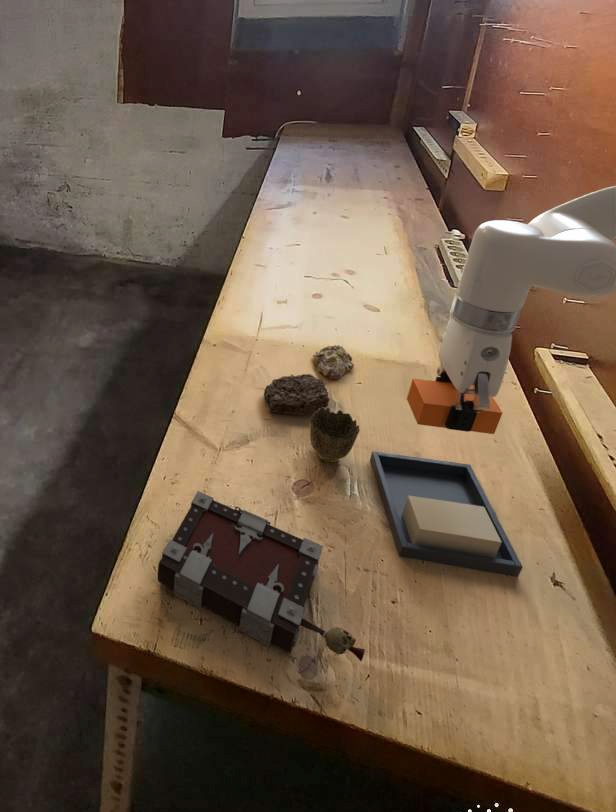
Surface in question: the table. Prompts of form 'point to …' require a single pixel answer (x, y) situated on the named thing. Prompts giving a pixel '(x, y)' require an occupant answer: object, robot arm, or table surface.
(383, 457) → the tray
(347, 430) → the cup
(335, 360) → the mineral rock
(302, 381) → the dark brown rough stone
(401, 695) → the table surface
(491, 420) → the orange rectangular block
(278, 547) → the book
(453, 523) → the beige block
